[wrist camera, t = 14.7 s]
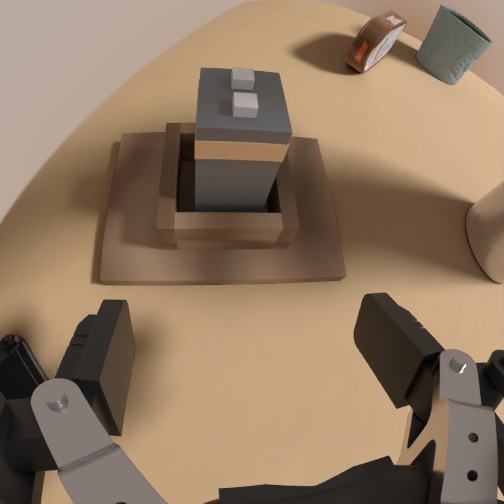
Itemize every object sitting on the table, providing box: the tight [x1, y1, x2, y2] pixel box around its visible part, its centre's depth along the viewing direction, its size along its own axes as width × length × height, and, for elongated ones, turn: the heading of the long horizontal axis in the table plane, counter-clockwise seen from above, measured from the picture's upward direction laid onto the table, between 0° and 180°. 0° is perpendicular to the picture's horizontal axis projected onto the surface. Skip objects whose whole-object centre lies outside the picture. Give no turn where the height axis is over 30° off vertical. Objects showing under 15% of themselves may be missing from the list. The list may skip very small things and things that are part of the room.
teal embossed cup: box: [416, 4, 492, 85], centre depth 34 cm, size 10×10×12 cm
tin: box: [345, 11, 407, 73], centre depth 31 cm, size 15×3×8 cm, turn 143°
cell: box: [195, 68, 292, 213], centre depth 17 cm, size 4×5×10 cm
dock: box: [100, 123, 346, 285], centre depth 20 cm, size 16×12×4 cm
